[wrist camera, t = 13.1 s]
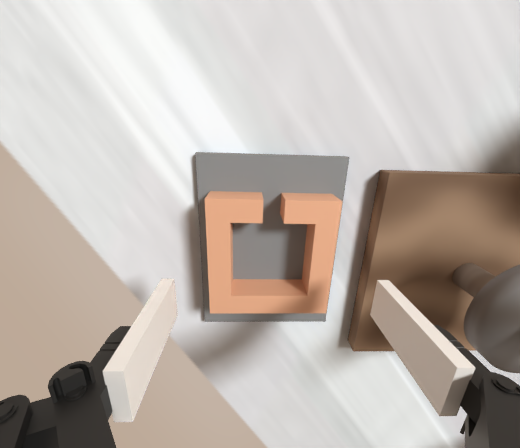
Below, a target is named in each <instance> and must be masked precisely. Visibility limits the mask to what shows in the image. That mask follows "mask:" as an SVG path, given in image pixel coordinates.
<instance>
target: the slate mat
mask: <svg viewBox="0 0 520 448" xmlns="http://www.w3.org/2000/svg"><path fill="white" fill-rule="evenodd" d="M195 154H196V172H197V190H198V208H199V226H200V244H201V262H202V280H203V298H204V316H205V322H240V321H325V319H326V313H327V311H326V313H210V303H209V281H208V260H207V238H206V217H205V197H206V196H207V195H208V193H209V192H210V191H226V192H262V195H263V223H233V279H301V280H302V272H303V262H304V252H305V242H306V232H307V224H284V223H283V220H282V217H281V215H280V207H281V193H319V194H333V195H334V196H336V197H337V198H338V199H340V200H341V201H343V197H344V190H345V183H346V176H347V170H348V163H349V157H345V156H310V155H275V154H240V153H205V152H196V153H195ZM342 204H343V202H342ZM341 210H342V208H341ZM340 217H341V215H340ZM339 224H340V222H339ZM338 231H339V229H338ZM337 238H338V236H337ZM336 244H337V243H336ZM335 251H336V249H335ZM334 258H335V256H334ZM333 265H334V263H333ZM332 272H333V270H332ZM331 278H332V277H331ZM330 285H331V284H330ZM329 292H330V290H329ZM328 299H329V297H328ZM327 306H328V304H327Z"/></svg>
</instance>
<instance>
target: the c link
mask: <svg viewBox="0 0 520 448" xmlns="http://www.w3.org/2000/svg"><path fill="white" fill-rule="evenodd" d="M342 202H343V201H341V200H340V199H338V198H337V197H336V196H334V195H333V194H319V193H281V207H280V215H281V217H282V220H283V223H284V224H307V232H306V242H305V252H304V262H303V272H302V280H301V279H233V223H263V195H262V192H226V191H210V192H209V193H208V195H207V196H206V197H205V217H206V238H207V260H208V281H209V303H210V313H326V311H327V304H328V297H329V290H330V284H331V277H332V270H333V263H334V256H335V249H336V243H337V236H338V229H339V222H340V215H341V208H342Z"/></svg>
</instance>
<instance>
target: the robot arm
mask: <svg viewBox="0 0 520 448" xmlns="http://www.w3.org/2000/svg"><path fill="white" fill-rule="evenodd" d="M370 315H371V317H372V318H373V320H374V321H375V323H376V324H377V326H378V327H379V329H380V330H381V332H382V333H383V334H384V336H385V337H386V339H387V340H388V342H389V343H390V345H391V346H392V348H393V349H394V350H395V352H396V353H397V355H398V356H399V358H400V359H401V361H402V362H403V364H404V365H405V366H406V368H407V369H408V371H409V372H410V374H411V375H412V377H413V378H414V380H415V381H416V382H417V384H418V385H419V387H420V388H421V390H422V391H423V393H424V394H425V396H426V397H427V399H428V400H429V401H430V403H431V404H432V406H433V407H434V409H435V410H436V412H437V413H438V415H439V416H457V413H458V411H459V408H460V406H461V407H462V408H463V409H464V410H465V412H466V413H467V417H466V419H465V421H464V424H463V426H462V428H461V431H460V433H462V434H464V432H465V448H520V386H519V385H518V384H516V383H515V382H514V381H512V380H511V379H509V378H507V377H505V376H503V375H500V374H497V373H493V372H490V371H489V370H488V369H487V368H486V367H485V366H484V365H483V364H482V363H481V362H480V361H479V360H478V359H477V358H476V357H475V356H474V355H472V354H471V353H470V352H469V351H468V350H467V349H466V348H464V346H463V345H462V344H461V343H460V342H458V341H457V339H456V338H455V337H454V336H453V335H452V334H451V333H450V332H448V331H447V330H445V329H444V328H442V327H441V326H439V325H433V324H432V323H431V322H430V321H429V320H428V319H427V318H426V317H425V316H424V315H423V314H422V313H421V312H420V311H419V310H418V309H417V308H416V307H415V306H414V305H413V304H412V303H411V302H410V301H409V300H408V299H407V298H406V297H405V296H404V295H403V294H402V293H401V292H400V291H399V290H398V289H397V288H396V287H395V286H394V285H393V284H392V283H391V282H390V281H389V280H377V284H376V289H375V294H374V299H373V304H372V308H371V313H370ZM176 317H177V304H176V293H175V282H174V279H161V281H160V282H159V284H158V286H157V287H156V289H155V290H154V292H153V293H152V295H151V296H150V298H149V300H148V301H147V303H146V304H145V306H144V307H143V309H142V311H141V312H140V314H139V315H138V317H137V318H136V320H135V321H134V323H133V325H132V326H120V327H119V328H118V329H117V330H115V331H114V332H113V333H112V334H111V335H110V336H109V337H108V339H107V340H106V342H105V344H103V346H102V347H101V348H100V351H99V352H98V353H97V354H96V356H95V357H94V358H93V360H92V361H91V362H90V363H89V362H86V361H78V362H74V363H71V364H68V365H67V366H65V367H63V368H61V369H60V370H59V371H58V372H56V373H55V374H54V375H53V376H52V378H51V380H50V381H49V384H48V389H49V392H50V395H51V397H49V398H46V399H42V400H39V401H35V402H32V403H30V401H29V399H28V398H27V397H26V396H23V395H17V396H12V397H9V398H7V399H4V400H2V401H0V448H116V445H115V442H114V439H113V435H112V432H111V429H110V426H109V423H108V419H109V417H110V415H111V413H112V415H113V419H114V422H133V421H134V418H135V416H136V413H137V411H138V408H139V406H140V404H141V401H142V399H143V397H144V394H145V392H146V389H147V387H148V384H149V382H150V380H151V377H152V375H153V373H154V370H155V368H156V365H157V363H158V361H159V358H160V356H161V353H162V351H163V349H164V346H165V344H166V341H167V339H168V337H169V334H170V332H171V329H172V327H173V325H174V322H175V320H176Z"/></svg>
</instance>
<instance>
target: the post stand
mask: <svg viewBox="0 0 520 448" xmlns="http://www.w3.org/2000/svg"><path fill="white" fill-rule="evenodd" d="M377 280H389V281H390V282H391V283H392V284H393V285H394V286H395V287H396V288H397V289H398V290H399V291H400V292H401V293H402V294H403V295H404V296H405V297H406V298H407V299H408V300H409V301H410V302H411V303H412V304H413V305H414V306H415V307H416V308H417V309H418V310H419V311H420V312H421V313H422V314H423V315H424V316H425V317H426V318H427V319H428V320H429V321H430V322H431V323H432V324H433V325H439V326H441V327H442V328H444V329H445V330H447V331H448V332H450V333H451V334H452V335H453V336H454V337H455V338H456V339H457V341H458V342H460V343H461V344H462V345H463V346H464V348H466V349H467V350H477V351H478V352H479V353H480V354H481V355H482V356H483V357H484V358H485V359H486V360H487V361H488V362H489V363H490V364H491V365H493V366H494V367H496V368H498V369H500V370H503V371H506V372H512V373H520V174H514V173H476V172H438V171H400V170H380V174H379V179H378V185H377V190H376V195H375V200H374V206H373V211H372V216H371V221H370V226H369V232H368V237H367V242H366V247H365V253H364V258H363V263H362V268H361V274H360V279H359V284H358V289H357V295H356V300H355V305H354V310H353V315H352V321H351V326H350V331H349V336H348V341H349V343H350V345H351V348H352V350H353V351H395V350H394V349H393V348H392V346H391V345H390V343H389V342H388V340H387V339H386V337H385V336H384V334H383V333H382V332H381V330H380V329H379V327H378V326H377V324H376V323H375V321H374V320H373V318H372V317H371V315H370V313H371V308H372V304H373V299H374V294H375V289H376V284H377Z"/></svg>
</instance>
